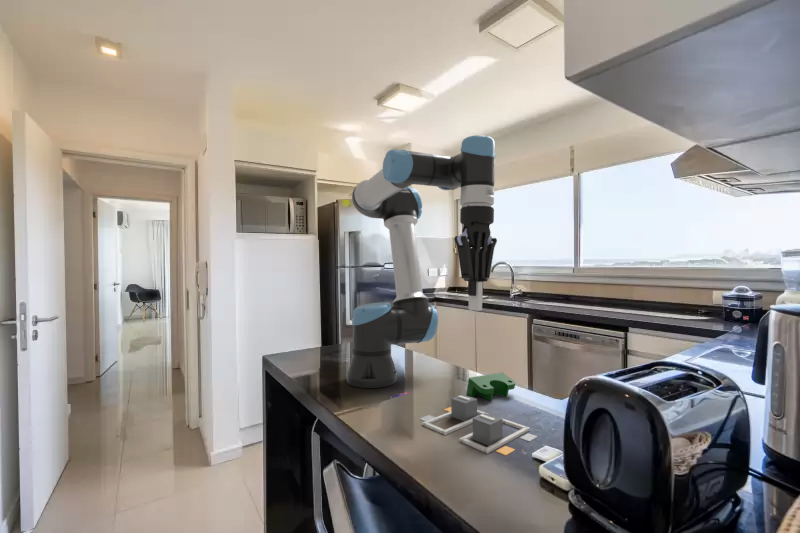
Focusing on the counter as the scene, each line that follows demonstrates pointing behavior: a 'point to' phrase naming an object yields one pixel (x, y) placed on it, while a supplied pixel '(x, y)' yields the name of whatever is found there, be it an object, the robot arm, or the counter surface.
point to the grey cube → (487, 429)
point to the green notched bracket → (490, 385)
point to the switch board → (466, 439)
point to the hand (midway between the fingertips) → (475, 309)
